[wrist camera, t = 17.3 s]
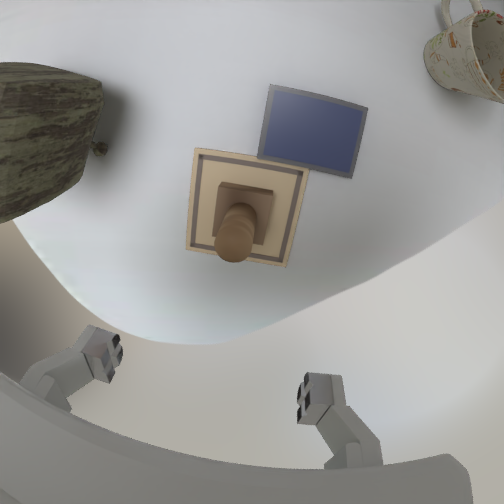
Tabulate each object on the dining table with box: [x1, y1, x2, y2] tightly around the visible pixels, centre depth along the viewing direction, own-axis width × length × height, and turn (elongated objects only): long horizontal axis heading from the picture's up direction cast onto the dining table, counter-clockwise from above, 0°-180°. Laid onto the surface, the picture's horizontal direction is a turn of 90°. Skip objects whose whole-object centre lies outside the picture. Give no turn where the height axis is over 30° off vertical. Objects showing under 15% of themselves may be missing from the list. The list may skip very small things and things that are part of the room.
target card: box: [186, 148, 309, 267], centre depth 28 cm, size 11×11×1 cm
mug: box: [424, 0, 504, 104], centre depth 14 cm, size 8×13×10 cm, turn 14°
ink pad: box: [257, 84, 368, 179], centre depth 24 cm, size 9×7×2 cm
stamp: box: [212, 182, 273, 262], centre depth 25 cm, size 5×5×8 cm
